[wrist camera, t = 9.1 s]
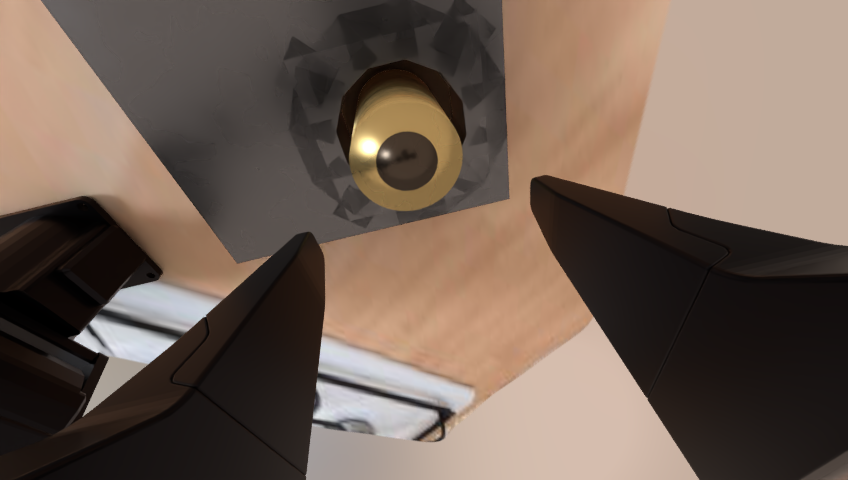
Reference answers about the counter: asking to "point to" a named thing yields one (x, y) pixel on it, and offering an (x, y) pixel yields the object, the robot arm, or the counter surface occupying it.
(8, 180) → the counter surface
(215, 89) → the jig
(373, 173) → the bushing
